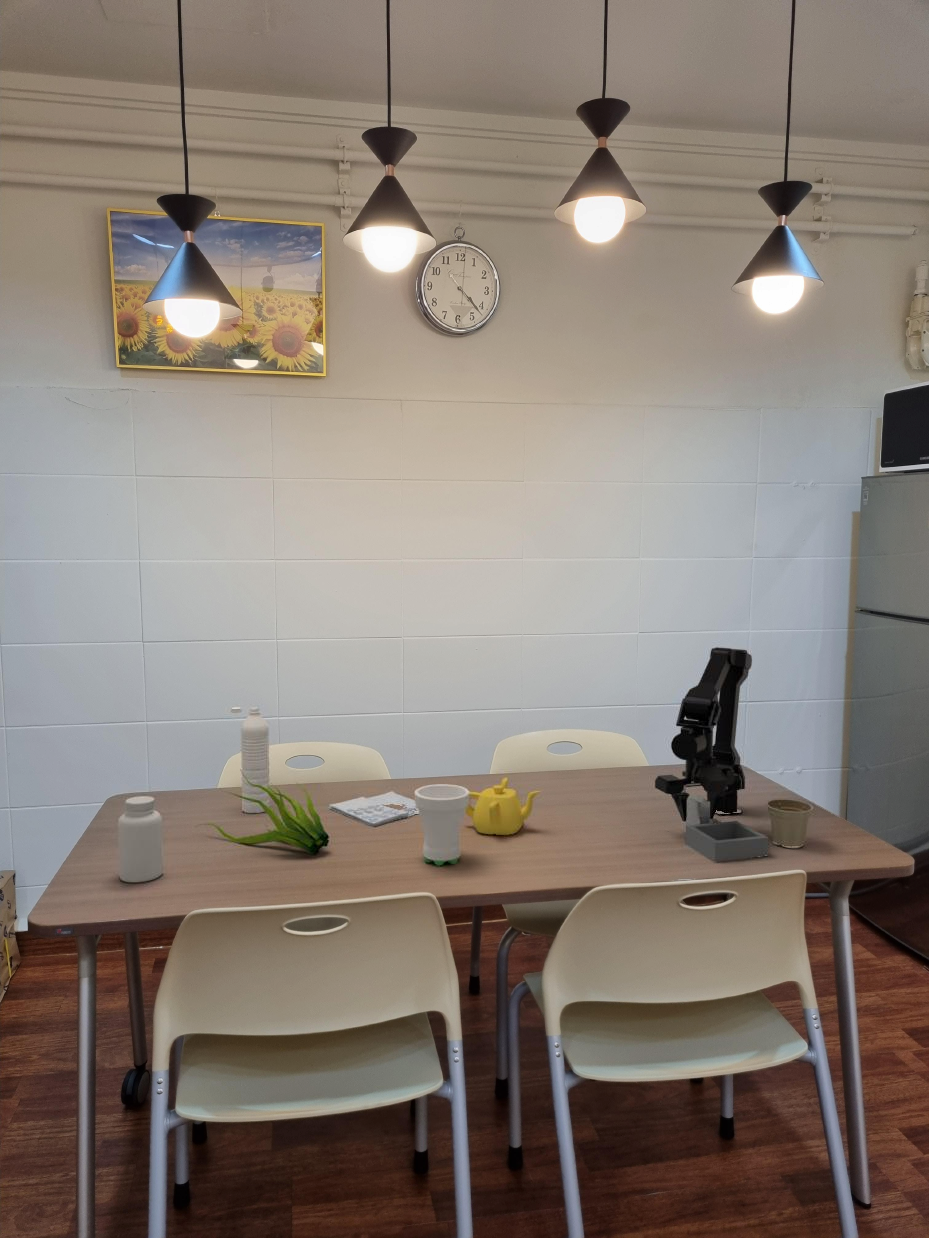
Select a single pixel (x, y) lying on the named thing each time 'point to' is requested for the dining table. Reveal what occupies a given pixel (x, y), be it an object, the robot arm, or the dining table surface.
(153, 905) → the dining table surface
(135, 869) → the pill bottle
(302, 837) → the decorative plant
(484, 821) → the teapot
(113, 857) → the dining table surface
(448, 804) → the cup
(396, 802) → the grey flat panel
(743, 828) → the bin
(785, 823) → the flower pot
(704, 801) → the bracket
